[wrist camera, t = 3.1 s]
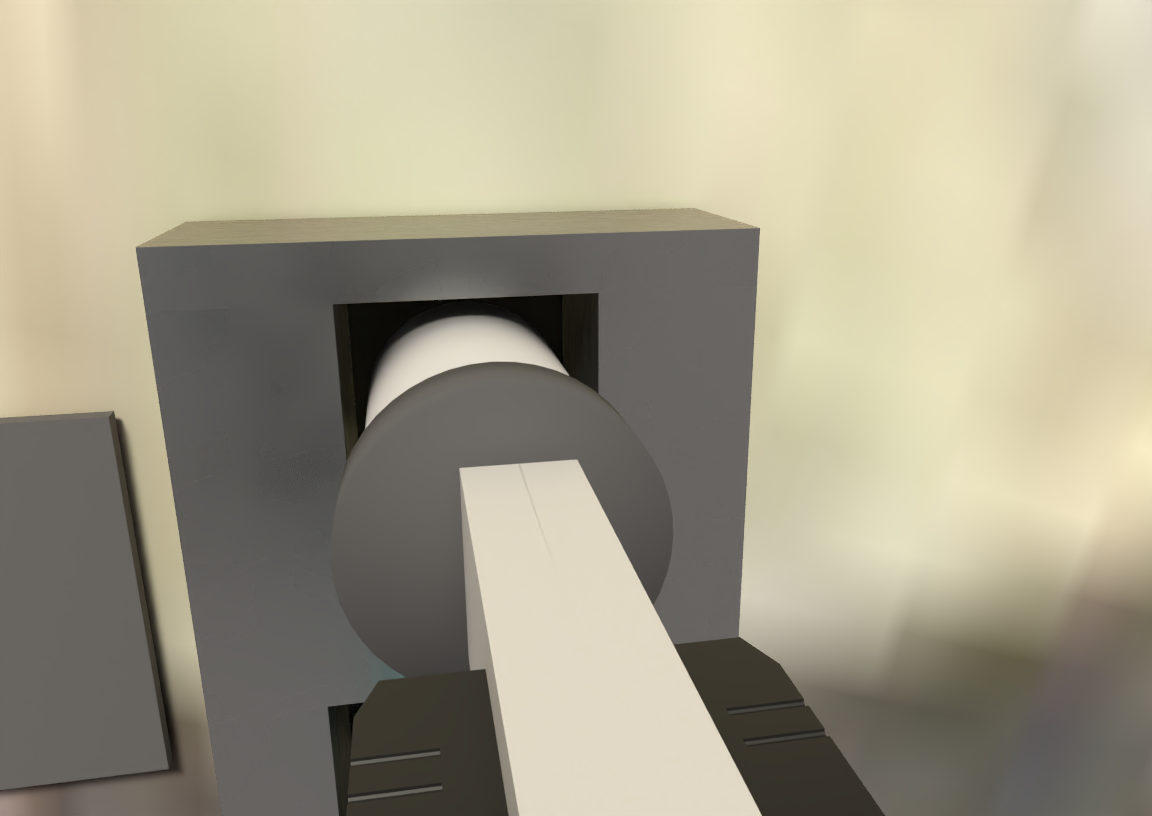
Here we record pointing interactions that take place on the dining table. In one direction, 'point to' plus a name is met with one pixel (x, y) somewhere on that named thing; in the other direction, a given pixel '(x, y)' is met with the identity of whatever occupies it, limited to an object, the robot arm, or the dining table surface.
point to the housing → (329, 432)
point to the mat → (72, 609)
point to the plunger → (459, 440)
